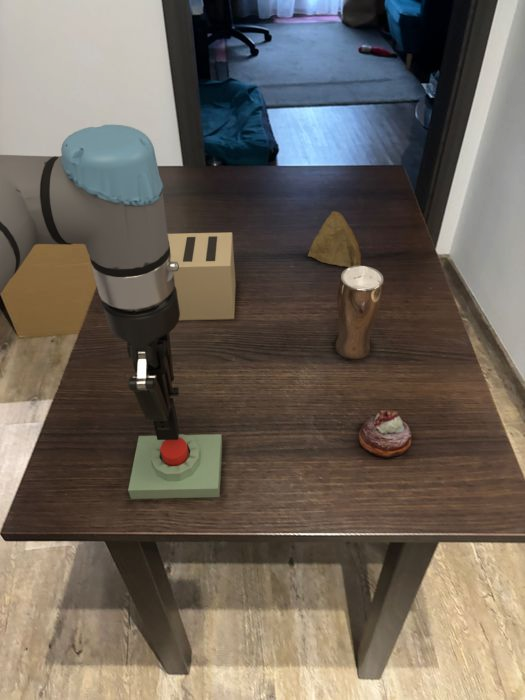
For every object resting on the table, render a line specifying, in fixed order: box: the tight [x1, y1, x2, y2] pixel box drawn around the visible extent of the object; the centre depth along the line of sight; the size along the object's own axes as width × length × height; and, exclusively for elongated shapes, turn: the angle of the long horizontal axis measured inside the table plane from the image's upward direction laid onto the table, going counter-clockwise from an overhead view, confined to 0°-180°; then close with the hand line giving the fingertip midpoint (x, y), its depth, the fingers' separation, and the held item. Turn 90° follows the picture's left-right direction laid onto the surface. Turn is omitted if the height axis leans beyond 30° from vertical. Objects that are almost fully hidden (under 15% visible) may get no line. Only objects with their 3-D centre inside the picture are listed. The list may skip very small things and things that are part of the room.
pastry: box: [358, 409, 413, 459], centre depth 76 cm, size 8×8×5 cm
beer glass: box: [334, 265, 384, 360], centre depth 87 cm, size 7×7×15 cm
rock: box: [307, 210, 362, 268], centre depth 109 cm, size 11×9×10 cm
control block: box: [127, 433, 223, 500], centre depth 73 cm, size 12×9×4 cm
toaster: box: [168, 231, 236, 321], centre depth 98 cm, size 16×11×12 cm
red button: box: [160, 437, 188, 466], centre depth 71 cm, size 4×4×2 cm
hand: (168, 435), depth 69 cm, fingers closed
